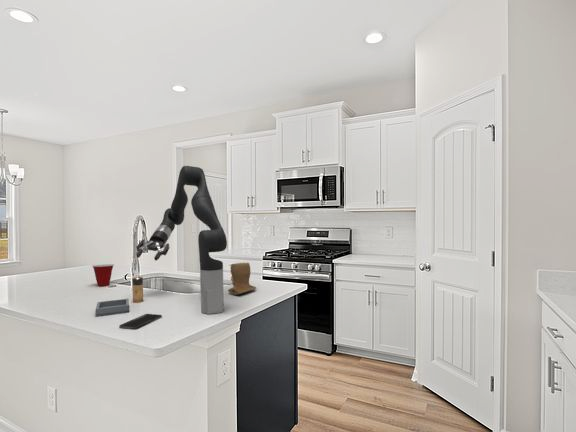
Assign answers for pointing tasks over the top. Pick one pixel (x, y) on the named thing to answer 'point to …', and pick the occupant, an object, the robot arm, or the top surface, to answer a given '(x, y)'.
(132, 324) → the phone
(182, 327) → the top surface
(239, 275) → the brown boot
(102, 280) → the plastic cup
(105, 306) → the tray
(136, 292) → the battery cell
